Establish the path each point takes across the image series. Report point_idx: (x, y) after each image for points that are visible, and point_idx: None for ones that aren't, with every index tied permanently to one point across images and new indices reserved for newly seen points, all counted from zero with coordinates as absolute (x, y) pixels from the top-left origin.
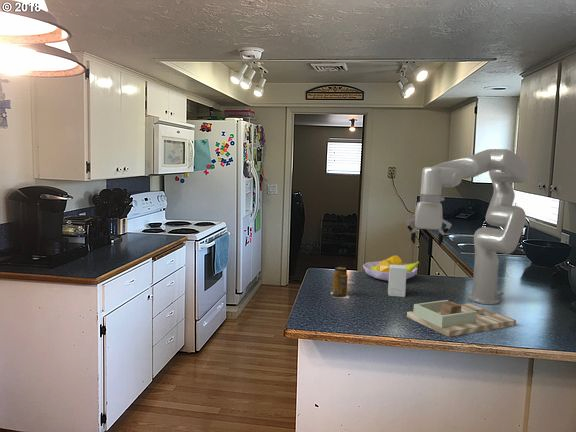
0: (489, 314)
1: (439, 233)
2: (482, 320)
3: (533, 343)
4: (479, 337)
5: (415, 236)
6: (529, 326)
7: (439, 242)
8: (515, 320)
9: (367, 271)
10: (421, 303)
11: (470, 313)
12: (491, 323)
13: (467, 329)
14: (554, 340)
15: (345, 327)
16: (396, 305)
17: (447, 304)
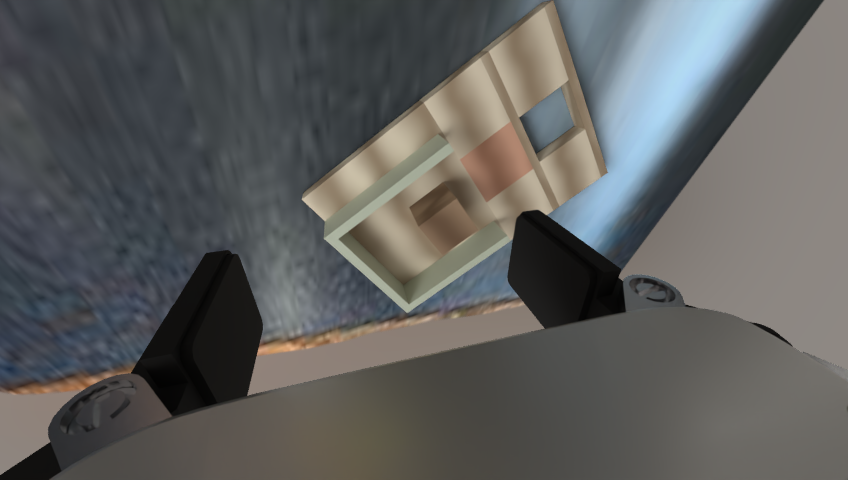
0: (570, 103)
1: (602, 305)
2: (518, 205)
3: None
4: (478, 276)
5: (245, 394)
6: (626, 164)
7: (521, 296)
8: (605, 173)
9: None
10: (350, 220)
11: (488, 253)
12: None
13: None
14: (620, 240)
15: (144, 332)
16: (236, 46)
17: (436, 234)
